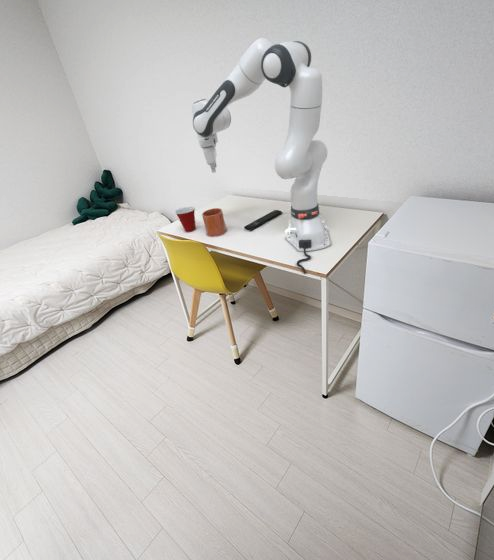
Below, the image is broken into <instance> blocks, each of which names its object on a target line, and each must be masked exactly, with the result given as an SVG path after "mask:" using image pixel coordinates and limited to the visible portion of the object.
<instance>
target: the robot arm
mask: <svg viewBox="0 0 494 560" xmlns="http://www.w3.org/2000/svg"><path fill="white" fill-rule="evenodd" d="M311 63H312V52H311V49H310V47H309V46H308V45H307V44H306V43H305V42H302V41H299V40H295V41H283V42H280V43H276V44H273V43H272V42H271V41H270V40H269V39H267V38H265V37H259V38H257V39H255V40H254V42H252V43H251V45H250V46H249V47H248V48H247V49H246V50H245V52H244V53H243V54H242V55H241V58H240V59H239V60H238V62H237V63H236V65H235V66H234V68H233V69H232V70H231V72H230V73H229V75H228V76H227V77H226V78H225V80H224V81H223V82H222V83H221V85H220V86H219V87H218V88H217V90H215V92H214V93H213V95H212V96H211V97H210V98H209V99H207V98H202V99H200V100H196V101H195V102H193V103H192V105H191V113H192V127H193V130H194V131H195V133H196V135H197V140H198V144H199V146H200V148H201V149H202V152H203V155H204V158H205V162H206V164H207V165H208V166H209V168H210V169H211V173H213V174H214V173H216V172H217V169H216V168H217V151H216V150H217V149H216V147H217V143H219V140H218V134H217V133H220V132H222V131H225V130H227V129H228V128H229V127H230V126H231V124H232V123H231V122H232V117H231V112H230V111H229V109H228V108H227V107H229V106H230V105H231V104H233V103H234V102H237V101H239V100H242V99H244V98H247V97H249V96H252V94H254V93H255V92H256V91H257V90H258V89H259V88H260V87H261V86H262V84H263V83H264V81H265V80H267V81H268V82H270V83H272V84H275V85H278V86H280V87H282V88H285V89H286V88H289V90H290V101H289V102H290V104H289V119H288V128H287V133H286V137H285V140H284V142H283V146H282V148H281V150H280V152H279V153H278V154H277V156H276V158H275V159H274V170H275V172H276V174H277V176H278V177H279V178H281V179H283V180H291V179H294V181H293V183H292V185H291V187H290V190H289V191H290V204H291V206H290V214H291V217H290V219H288V228H287V229H286V230H285V231H284V232H285V233H288V234H287V235H285V239H286V240H287V241H288V242H289V243H290V244H291V245H292V246H293V247H294V248H295V249H296V250H297V251H298V252H303V254H304V256H306V258H301V259H298V260H297V262H296V265H297V266H298V267H300V268H301V269H302V271H303V272H302V273H303V274H304V275H305V274H306V273H307V272H306V268H305V267H304V266H303V265H302V264H300V263H301V262H303V261H308V260H310V259H311V258H312V256H311V255H309V254H308V253H307V252H311V251H318V250H322V249H325V248H327V247H330V246H331V239H330V236H329V233H328V225H327V224H324V223H325V219H324V218H322V213H320V205H319V202H318V184H319V179H320V174H321V171H322V168H323V165H324V163H325V162H326V160H327V158H328V148H327V145H326V144H325V143H324V142H323V141H321V140H318V139H316V140H315V139H314V138H315V136H316V134H317V133H318V131H319V129H320V121H321V114H322V113H321V112H322V104H323V76H322V73H321V71H320V70H319V69H317V68H315V67H312V66H311Z"/></svg>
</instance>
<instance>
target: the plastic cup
mask: <svg viewBox="0 0 494 560" xmlns="http://www.w3.org/2000/svg"><path fill="white" fill-rule="evenodd" d="M195 210H196V207H195V206H184V207H180V208H178V209H176V210H174V213H175V214H176V216H177V218H178V220H179V221H180V223H181V225H182V227H183V230H184V231H185V232H186V233H191V232H194V231H196V230H197V229H196V217H195V213H196V212H195Z"/></svg>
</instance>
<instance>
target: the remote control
mask: <svg viewBox="0 0 494 560" xmlns="http://www.w3.org/2000/svg"><path fill="white" fill-rule="evenodd" d="M281 214H283V211H282V210H279V209H274V210H272V211H270V212H268V213H266V214H264V215H263V216H260V217H259V218H258V219H256V220H255V219H254V221H251V222H250V223H248V224H247V225H245V226H243V228H244V229H245V230H246V231H252V230H254V229H256V228H258V227H259V226H261V225H263V224H265V223H267V222H268V221H270V220H272V219H274V218H275V217H277V216H279V215H281Z"/></svg>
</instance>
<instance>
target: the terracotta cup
mask: <svg viewBox="0 0 494 560" xmlns="http://www.w3.org/2000/svg"><path fill="white" fill-rule="evenodd" d="M215 214H216V215H215ZM210 215H212V216H210ZM201 216H202V220H203V223H204V227H205V231H206V235H207V236H208V237H211V238H212V237H219V236H222V235H224V234H225V233H226V232H227V226H226V222H225V217H224V212H223V209H221V208H220V207H219V208H217V207H214V208H210V209H206V210H204V211H203V212H202V213H201Z"/></svg>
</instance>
